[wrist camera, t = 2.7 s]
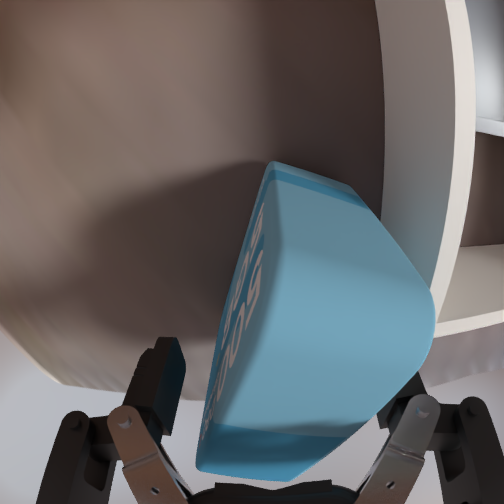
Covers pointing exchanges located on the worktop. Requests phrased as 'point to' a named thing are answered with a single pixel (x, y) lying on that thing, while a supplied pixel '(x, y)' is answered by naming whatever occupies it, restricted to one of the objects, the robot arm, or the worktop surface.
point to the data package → (309, 330)
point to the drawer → (488, 63)
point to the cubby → (435, 158)
